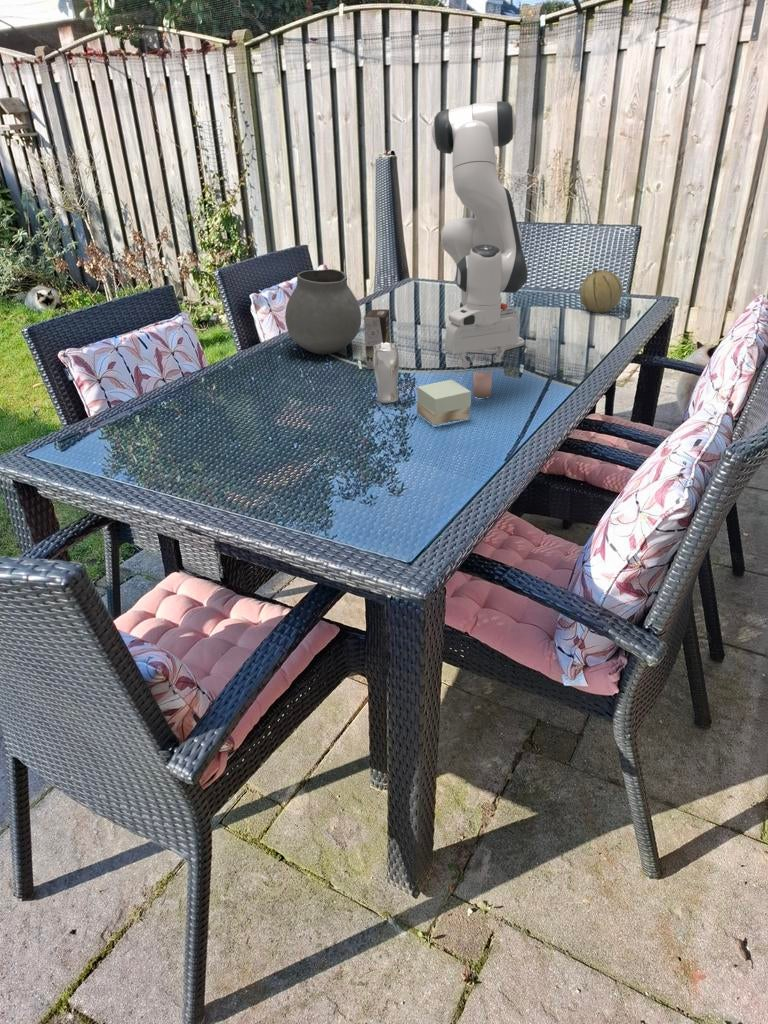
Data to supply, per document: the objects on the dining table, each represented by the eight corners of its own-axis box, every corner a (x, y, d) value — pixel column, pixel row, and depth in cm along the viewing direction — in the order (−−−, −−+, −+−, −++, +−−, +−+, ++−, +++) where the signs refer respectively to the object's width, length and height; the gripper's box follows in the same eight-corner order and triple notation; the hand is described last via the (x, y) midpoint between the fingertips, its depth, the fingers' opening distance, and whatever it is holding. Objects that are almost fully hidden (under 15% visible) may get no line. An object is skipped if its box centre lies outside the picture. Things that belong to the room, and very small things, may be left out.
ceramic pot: (318, 368, 217) (310, 286, 205) (275, 351, 233) (265, 274, 221) (377, 349, 231) (374, 271, 218) (333, 335, 247) (326, 261, 234)
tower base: (451, 408, 186) (451, 394, 184) (469, 421, 178) (469, 406, 176) (417, 415, 183) (416, 401, 181) (433, 429, 175) (433, 414, 173)
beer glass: (403, 395, 194) (402, 343, 187) (395, 405, 189) (393, 351, 181) (380, 393, 196) (377, 341, 189) (371, 403, 191) (368, 349, 183)
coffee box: (386, 369, 213) (384, 317, 205) (366, 369, 214) (362, 316, 206) (392, 360, 221) (390, 308, 213) (372, 359, 222) (369, 308, 214)
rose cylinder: (485, 391, 195) (486, 370, 192) (494, 396, 191) (495, 375, 188) (469, 394, 193) (470, 373, 190) (478, 400, 189) (479, 379, 186)
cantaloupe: (624, 316, 250) (630, 273, 243) (583, 318, 251) (587, 275, 243) (613, 305, 263) (618, 264, 255) (574, 307, 264) (577, 266, 256)
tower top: (451, 393, 184) (451, 379, 182) (470, 406, 177) (470, 391, 174) (417, 401, 181) (417, 386, 179) (435, 414, 173) (435, 399, 171)
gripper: (511, 305, 186) (508, 356, 193) (442, 315, 179) (442, 367, 186) (524, 310, 181) (521, 362, 188) (454, 320, 174) (453, 374, 181)
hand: (481, 364), depth 187 cm, fingers open, 8 cm apart
